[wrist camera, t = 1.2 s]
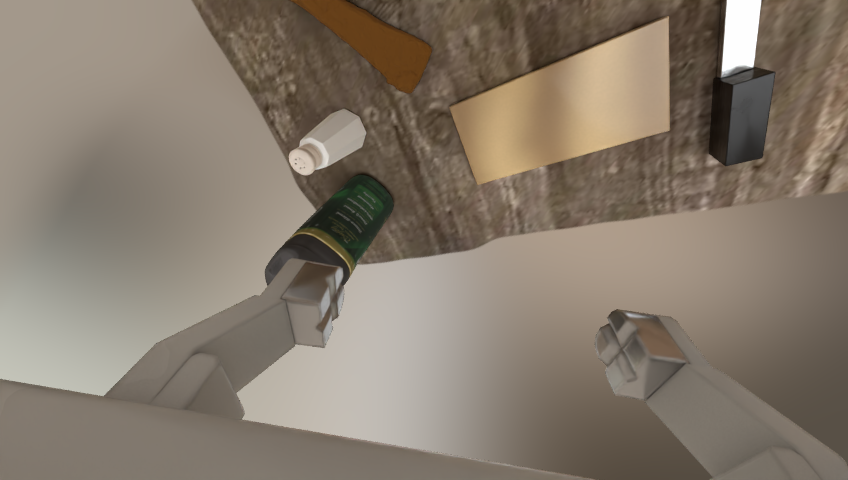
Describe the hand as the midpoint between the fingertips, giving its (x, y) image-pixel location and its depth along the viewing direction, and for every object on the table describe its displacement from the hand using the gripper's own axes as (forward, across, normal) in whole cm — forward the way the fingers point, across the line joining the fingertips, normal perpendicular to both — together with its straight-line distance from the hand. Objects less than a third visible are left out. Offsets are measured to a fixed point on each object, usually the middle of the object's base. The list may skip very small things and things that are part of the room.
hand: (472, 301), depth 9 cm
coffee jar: (+33, +12, +16) cm, 38 cm away
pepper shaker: (+33, +14, +5) cm, 36 cm away
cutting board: (+29, -9, 0) cm, 30 cm away
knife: (+27, -22, -8) cm, 35 cm away
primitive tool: (+32, +13, -7) cm, 35 cm away
